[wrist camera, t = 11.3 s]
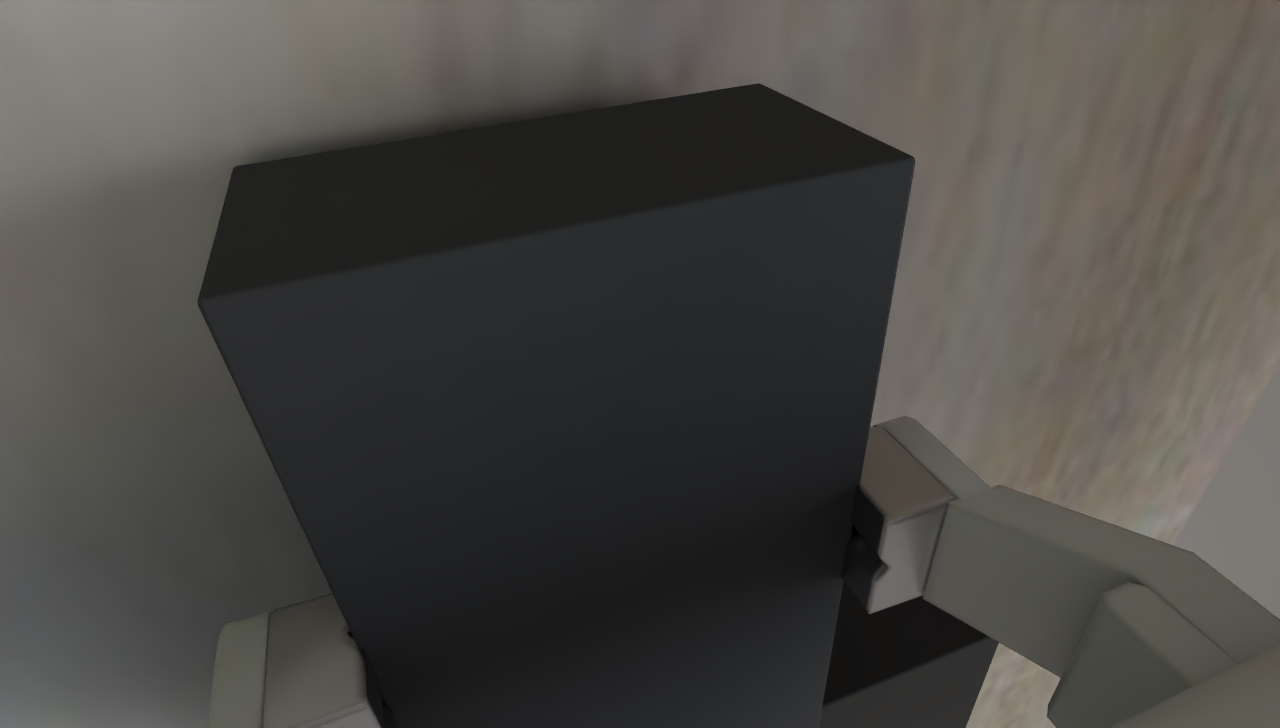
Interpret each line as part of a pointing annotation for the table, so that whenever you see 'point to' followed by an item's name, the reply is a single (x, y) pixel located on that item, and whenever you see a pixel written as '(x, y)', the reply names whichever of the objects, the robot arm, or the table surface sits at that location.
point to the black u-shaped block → (903, 667)
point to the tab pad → (574, 400)
